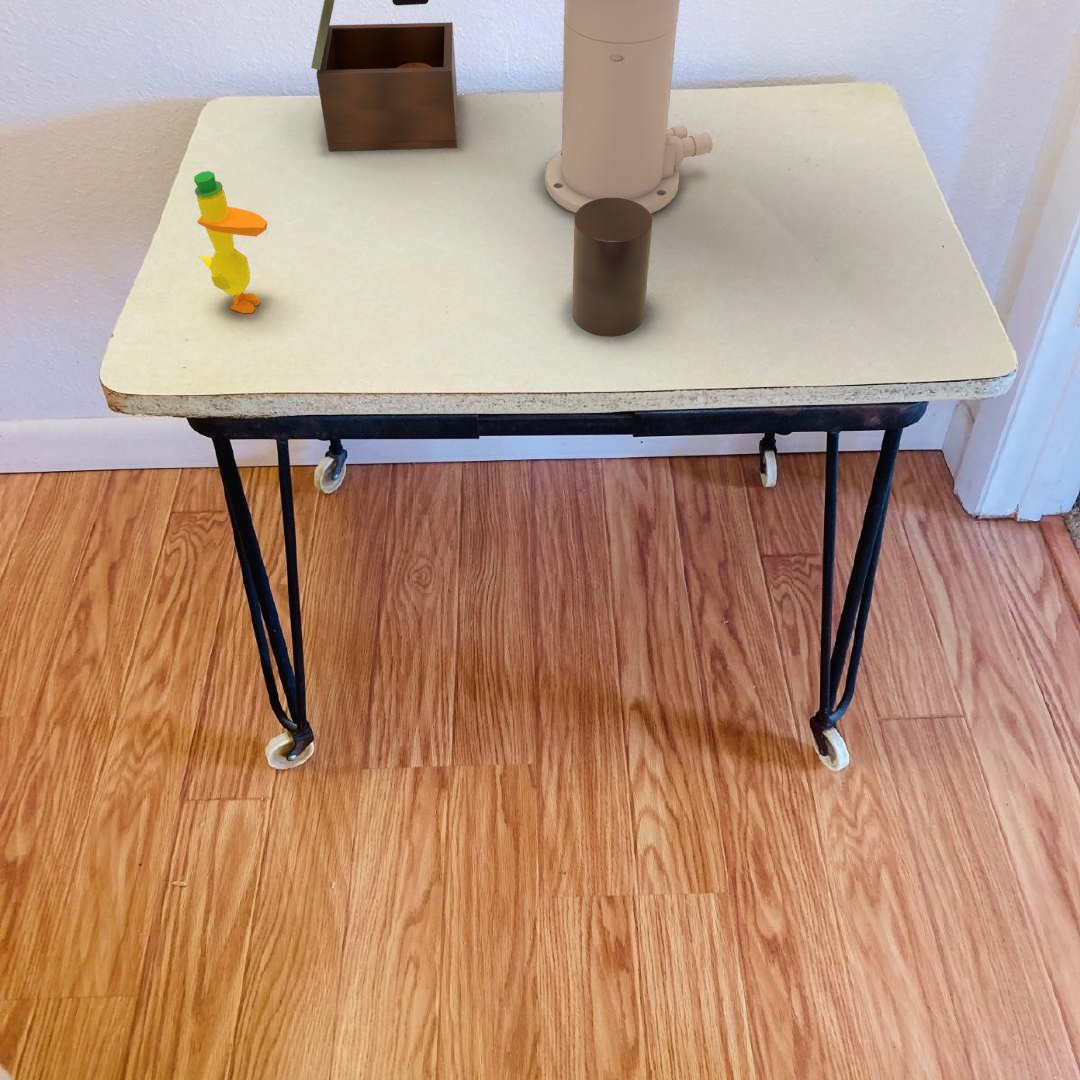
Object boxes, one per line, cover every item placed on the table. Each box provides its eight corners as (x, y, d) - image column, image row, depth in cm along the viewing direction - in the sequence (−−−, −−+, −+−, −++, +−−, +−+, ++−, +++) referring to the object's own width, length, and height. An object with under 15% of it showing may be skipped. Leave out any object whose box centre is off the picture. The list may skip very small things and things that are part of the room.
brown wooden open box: (457, 97, 114) (452, 22, 108) (456, 147, 107) (451, 70, 101) (336, 100, 113) (325, 25, 107) (328, 151, 107) (316, 74, 101)
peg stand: (625, 284, 93) (631, 190, 86) (656, 325, 89) (665, 231, 82) (560, 301, 91) (562, 207, 85) (590, 343, 88) (594, 249, 81)
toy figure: (293, 300, 92) (265, 171, 82) (276, 326, 89) (245, 196, 80) (220, 287, 93) (184, 159, 84) (201, 313, 90) (162, 184, 81)
